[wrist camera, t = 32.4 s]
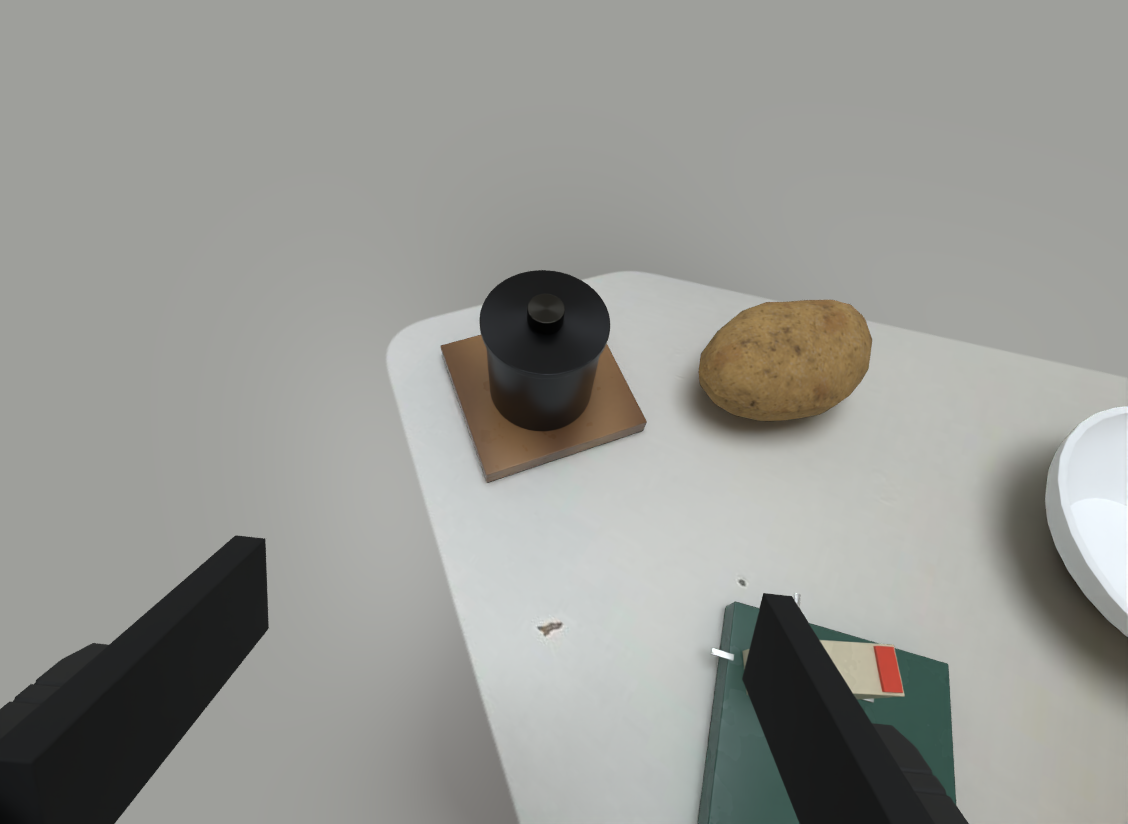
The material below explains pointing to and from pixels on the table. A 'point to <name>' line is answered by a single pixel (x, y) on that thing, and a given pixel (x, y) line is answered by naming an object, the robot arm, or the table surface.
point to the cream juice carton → (864, 668)
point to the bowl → (1094, 510)
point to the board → (523, 449)
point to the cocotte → (543, 347)
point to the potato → (786, 359)
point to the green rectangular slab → (742, 755)
